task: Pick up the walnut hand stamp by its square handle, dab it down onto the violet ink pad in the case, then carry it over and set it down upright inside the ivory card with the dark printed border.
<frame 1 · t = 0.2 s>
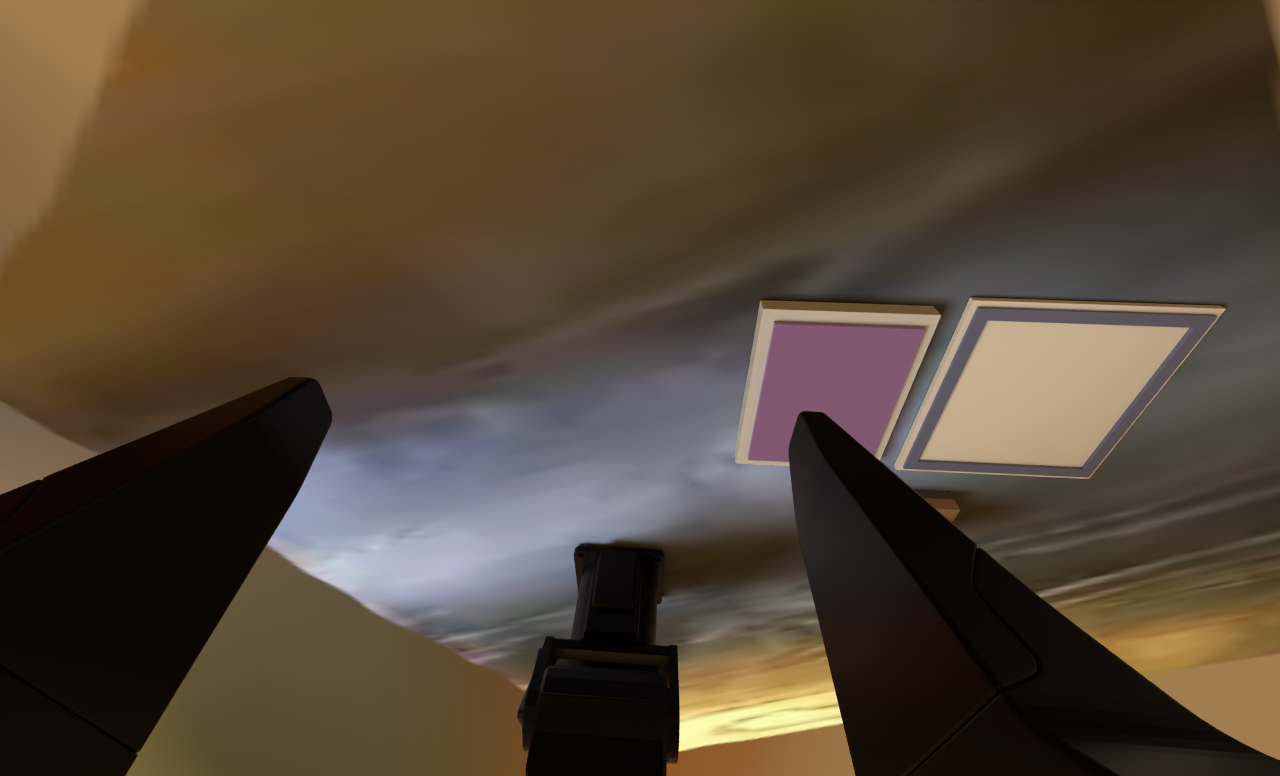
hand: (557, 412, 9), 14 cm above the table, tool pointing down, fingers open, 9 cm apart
stamp: (894, 514, 32), on the table
marked card: (1034, 396, 26), on the table
ink pad: (821, 388, 26), on the table
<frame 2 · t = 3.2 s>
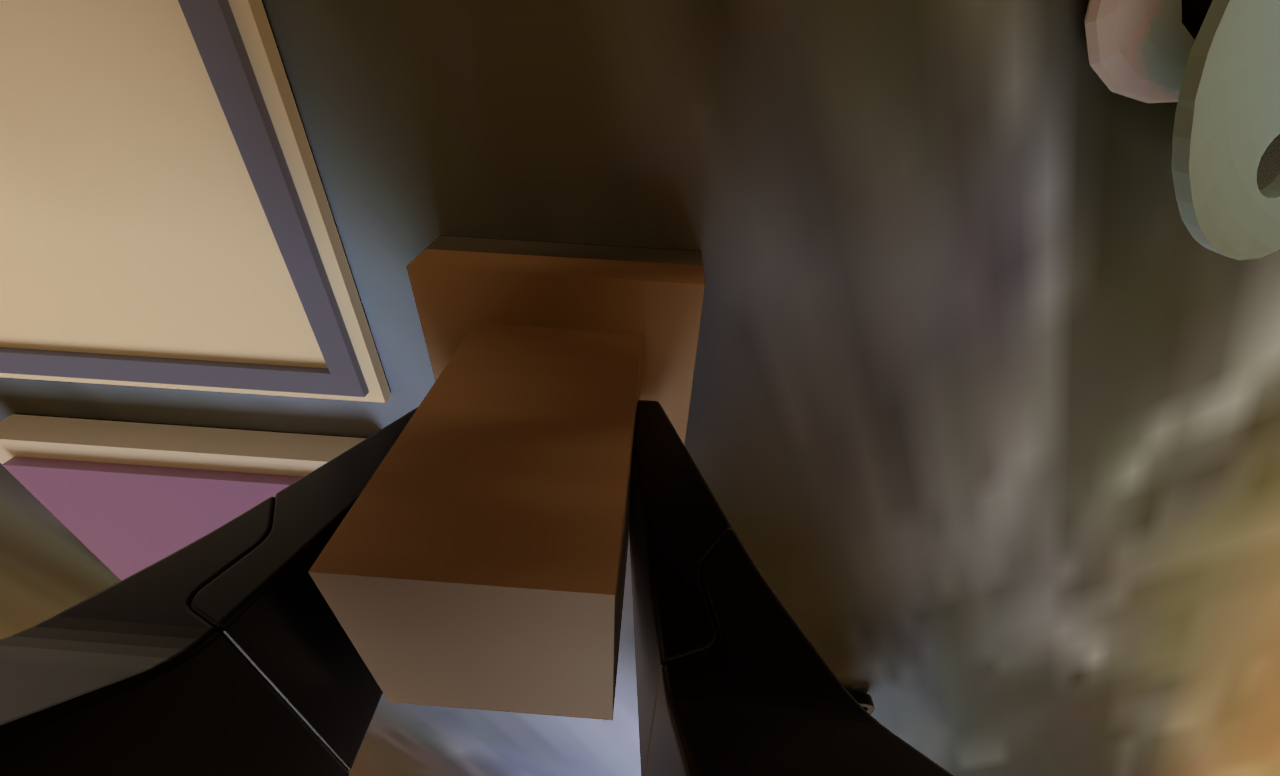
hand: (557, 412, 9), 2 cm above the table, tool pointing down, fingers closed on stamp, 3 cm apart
stamp: (575, 353, 11), on the table, touching gripper
marked card: (3, 127, 9), on the table
ink pad: (262, 524, 15), on the table
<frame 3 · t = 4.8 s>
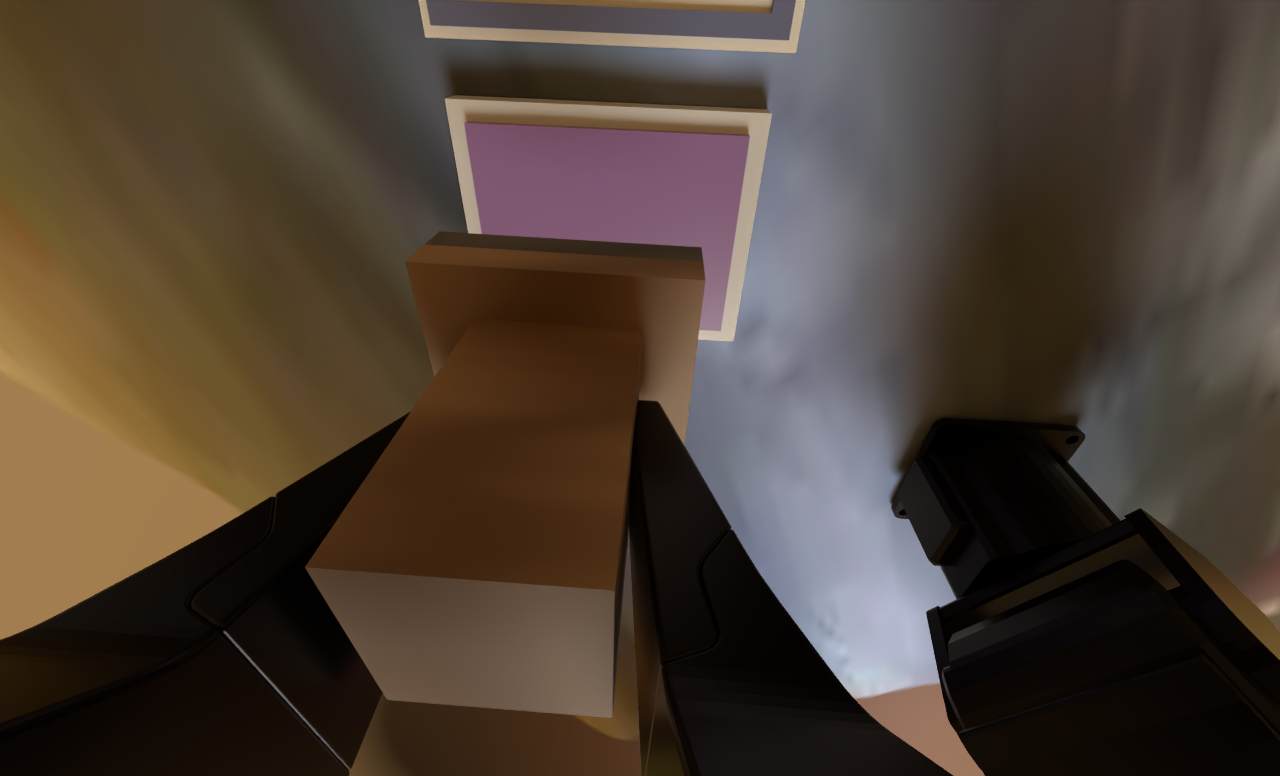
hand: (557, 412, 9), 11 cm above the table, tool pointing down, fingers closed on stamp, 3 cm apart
stamp: (574, 350, 11), point 9 cm above the table, touching gripper
ink pad: (610, 227, 18), on the table
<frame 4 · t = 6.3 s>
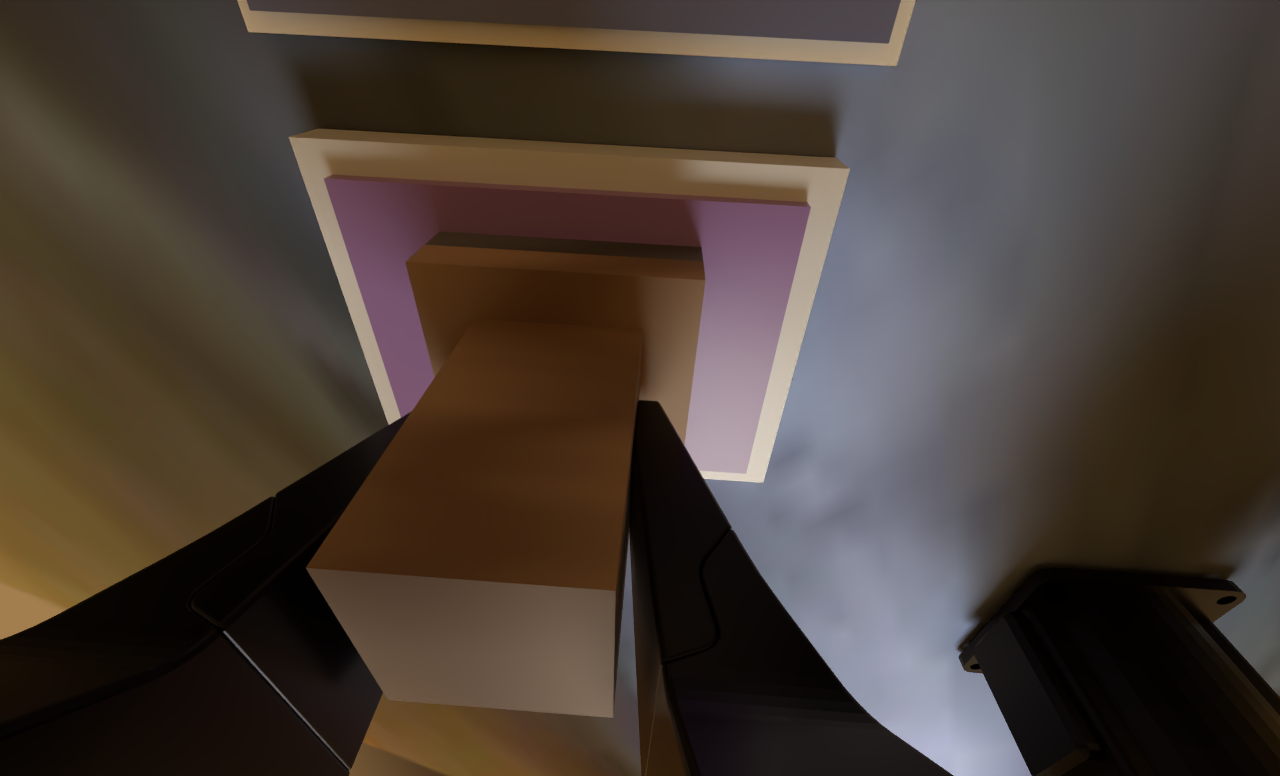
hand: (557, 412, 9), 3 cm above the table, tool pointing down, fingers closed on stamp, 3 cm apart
stamp: (574, 350, 11), point 1 cm above the table, touching gripper, ink pad
ink pad: (580, 325, 12), on the table
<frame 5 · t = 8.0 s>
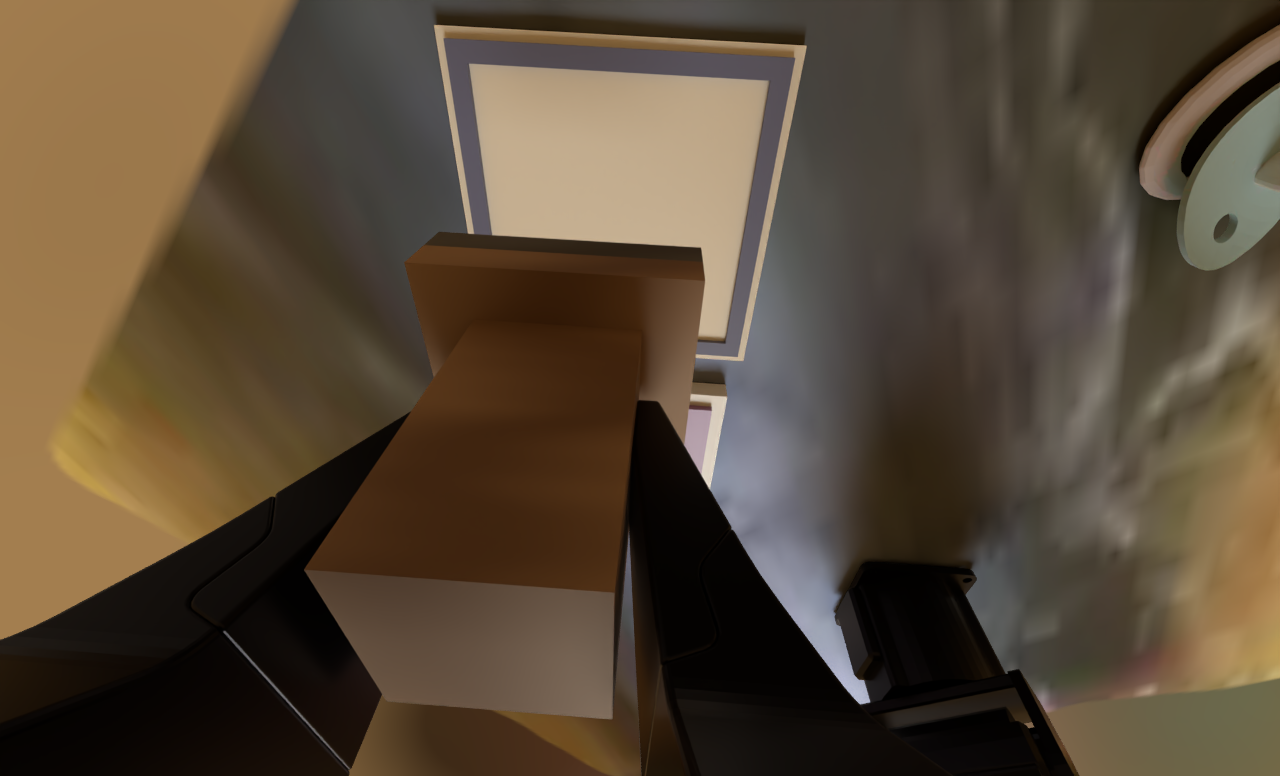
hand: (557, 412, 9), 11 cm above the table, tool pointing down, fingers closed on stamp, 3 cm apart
stamp: (574, 351, 11), point 9 cm above the table, touching gripper
marked card: (616, 220, 18), on the table
ink pad: (613, 442, 24), on the table
pacifier: (1252, 123, 15), on the table
when the fingers open (3 cm above the table, at t = 9.5 s): stamp drops 1 cm, resting on marked card.
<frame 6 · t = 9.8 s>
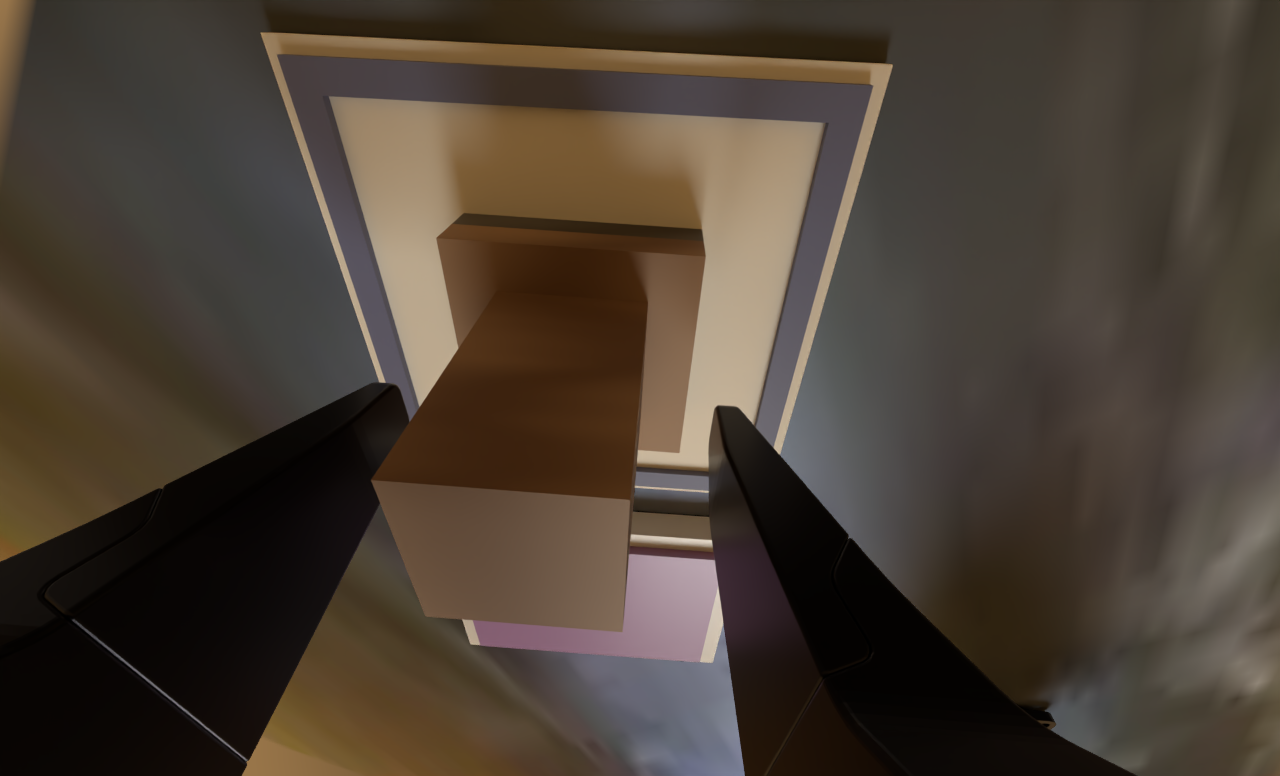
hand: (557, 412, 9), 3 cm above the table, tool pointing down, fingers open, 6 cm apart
stamp: (584, 325, 12), resting on marked card
marked card: (583, 320, 12), on the table
ink pad: (592, 578, 19), on the table
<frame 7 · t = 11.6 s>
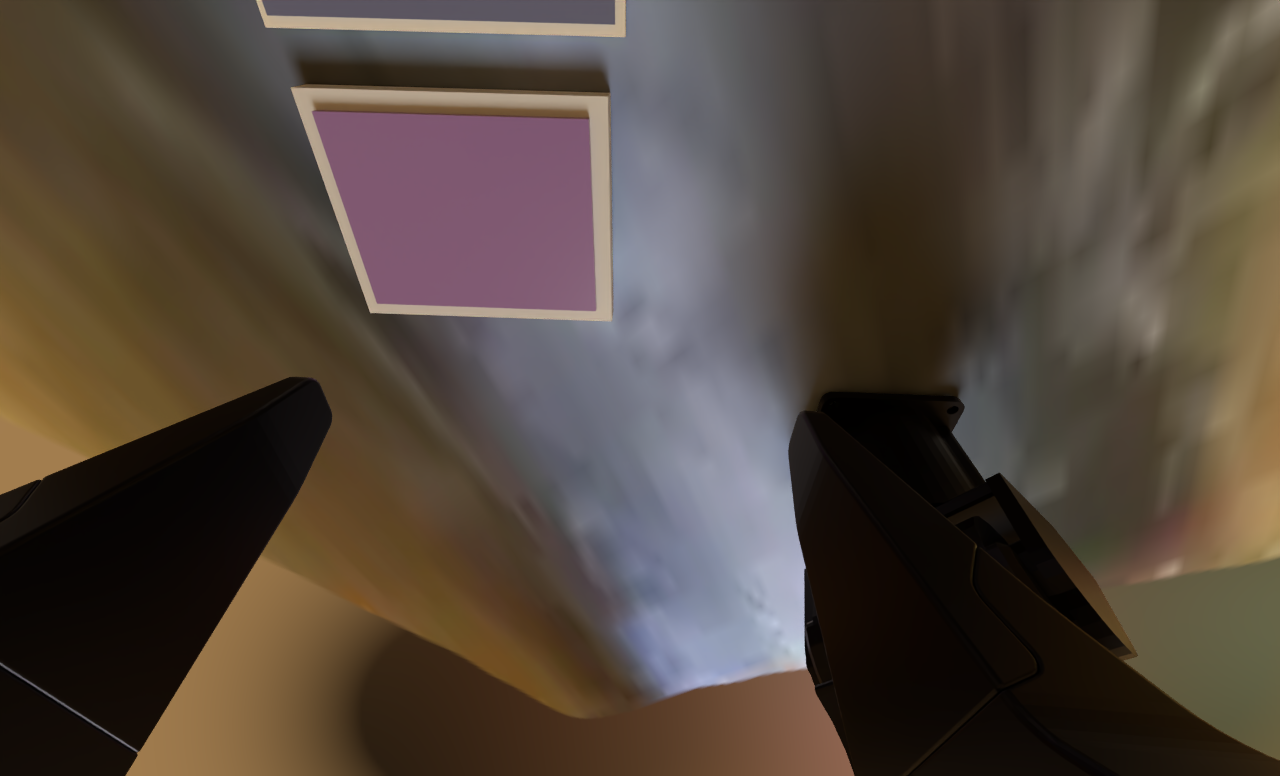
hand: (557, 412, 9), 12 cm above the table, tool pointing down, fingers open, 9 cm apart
ink pad: (479, 211, 19), on the table
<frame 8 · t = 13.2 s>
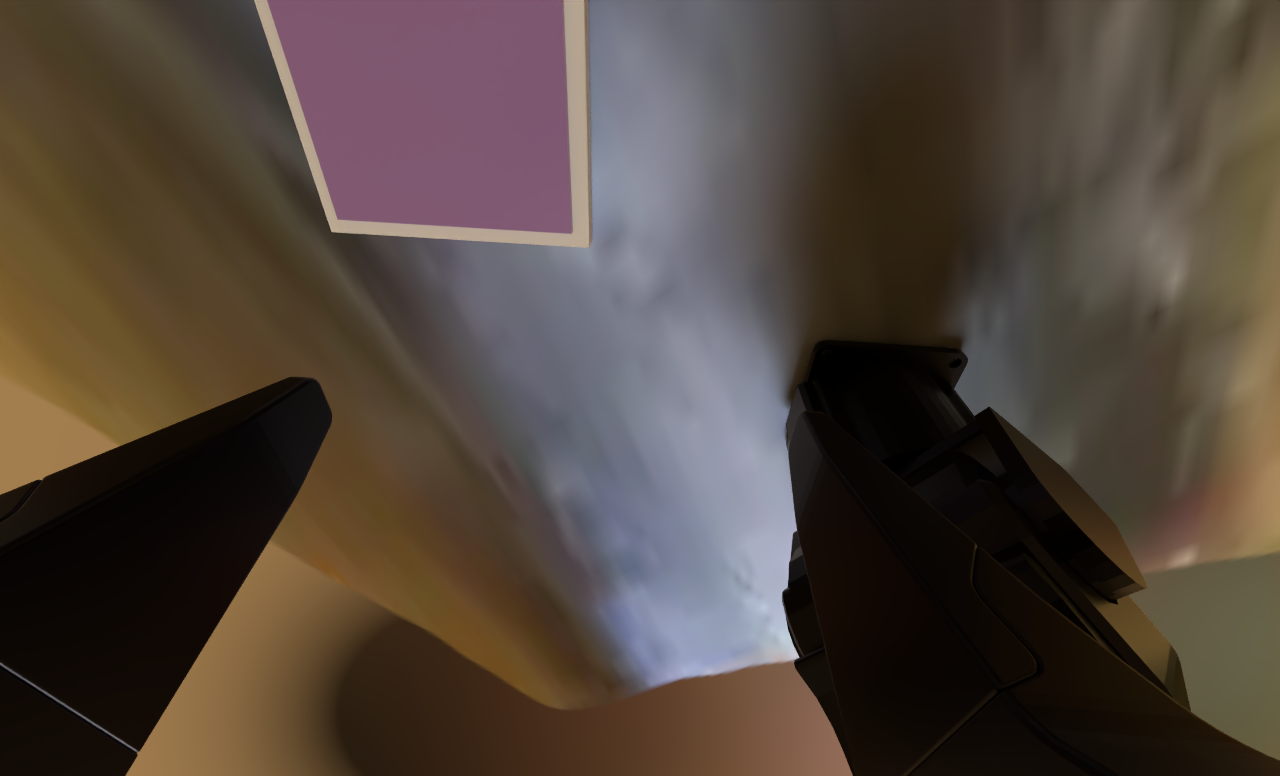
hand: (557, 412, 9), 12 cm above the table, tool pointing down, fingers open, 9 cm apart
ink pad: (448, 118, 17), on the table
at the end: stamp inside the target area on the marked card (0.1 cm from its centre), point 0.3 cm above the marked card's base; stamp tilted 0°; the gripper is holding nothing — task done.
